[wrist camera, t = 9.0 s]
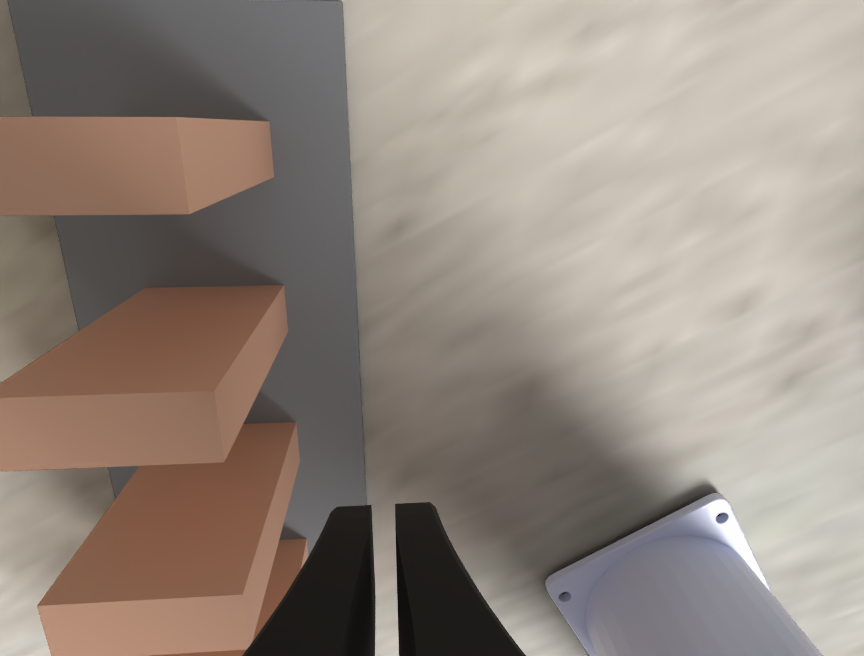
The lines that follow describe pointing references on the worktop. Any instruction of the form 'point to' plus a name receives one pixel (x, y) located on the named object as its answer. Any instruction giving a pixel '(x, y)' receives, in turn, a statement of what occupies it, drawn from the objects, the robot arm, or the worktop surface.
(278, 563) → the domino
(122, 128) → the domino
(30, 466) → the domino
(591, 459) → the worktop surface
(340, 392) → the mat
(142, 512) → the domino
